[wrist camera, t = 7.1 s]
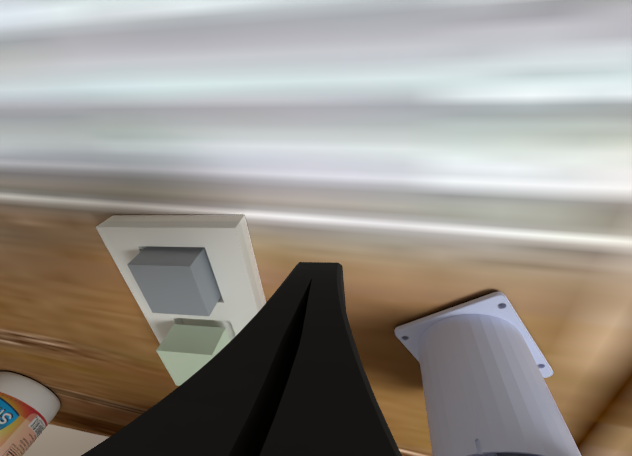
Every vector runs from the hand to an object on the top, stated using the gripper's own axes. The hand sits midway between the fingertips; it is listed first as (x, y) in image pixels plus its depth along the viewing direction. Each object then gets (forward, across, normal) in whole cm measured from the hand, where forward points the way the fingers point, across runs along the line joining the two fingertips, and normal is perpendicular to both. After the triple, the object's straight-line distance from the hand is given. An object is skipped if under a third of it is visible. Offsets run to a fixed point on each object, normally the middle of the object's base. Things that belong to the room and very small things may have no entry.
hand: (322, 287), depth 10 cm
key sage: (+7, +12, +13) cm, 19 cm away
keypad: (+9, +12, +13) cm, 20 cm away
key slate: (+9, +12, +6) cm, 16 cm away
